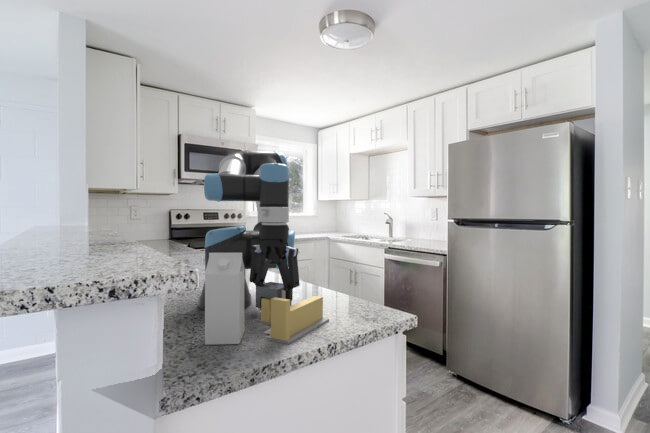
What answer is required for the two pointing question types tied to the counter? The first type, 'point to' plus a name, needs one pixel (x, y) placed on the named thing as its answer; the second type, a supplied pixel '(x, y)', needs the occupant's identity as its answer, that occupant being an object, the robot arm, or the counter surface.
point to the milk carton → (224, 299)
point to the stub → (265, 312)
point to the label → (268, 331)
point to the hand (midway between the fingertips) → (273, 311)
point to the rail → (295, 318)
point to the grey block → (268, 291)
